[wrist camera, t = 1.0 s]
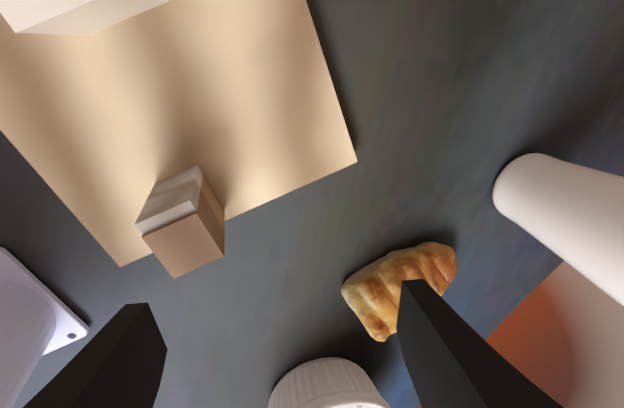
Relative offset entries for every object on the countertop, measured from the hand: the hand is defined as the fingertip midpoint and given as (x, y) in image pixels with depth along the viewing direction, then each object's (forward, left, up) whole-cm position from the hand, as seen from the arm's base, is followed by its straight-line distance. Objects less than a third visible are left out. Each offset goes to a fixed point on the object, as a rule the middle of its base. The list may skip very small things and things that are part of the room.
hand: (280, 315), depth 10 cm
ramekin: (-4, -23, -13) cm, 27 cm away
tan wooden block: (-4, 0, -12) cm, 12 cm away
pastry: (+6, -14, -13) cm, 20 cm away
